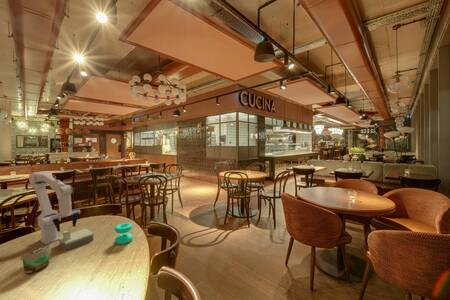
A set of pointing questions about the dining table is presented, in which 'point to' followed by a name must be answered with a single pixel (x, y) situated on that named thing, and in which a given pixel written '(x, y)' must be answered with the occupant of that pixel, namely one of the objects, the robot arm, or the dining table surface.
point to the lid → (74, 236)
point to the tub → (76, 243)
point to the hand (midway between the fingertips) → (66, 228)
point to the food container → (36, 260)
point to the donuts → (123, 237)
